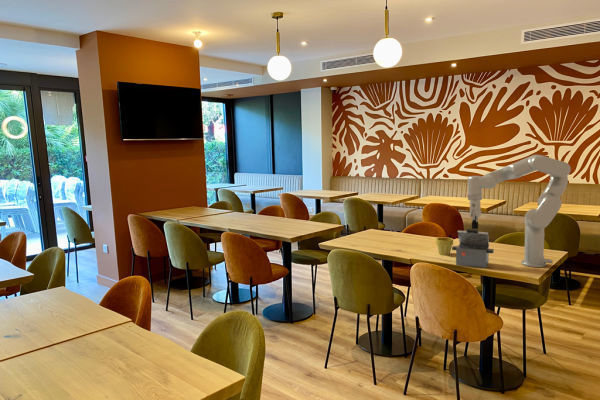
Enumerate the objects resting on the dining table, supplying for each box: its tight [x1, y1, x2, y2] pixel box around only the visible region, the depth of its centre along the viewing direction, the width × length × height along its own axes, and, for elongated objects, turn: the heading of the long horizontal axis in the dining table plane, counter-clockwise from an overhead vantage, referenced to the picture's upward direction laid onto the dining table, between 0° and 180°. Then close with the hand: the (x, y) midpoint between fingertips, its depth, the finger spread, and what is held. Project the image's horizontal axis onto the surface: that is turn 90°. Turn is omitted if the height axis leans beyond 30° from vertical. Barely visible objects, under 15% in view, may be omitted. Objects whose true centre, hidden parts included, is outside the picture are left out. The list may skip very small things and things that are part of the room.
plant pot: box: [435, 236, 454, 256], centre depth 275 cm, size 10×10×10 cm
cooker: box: [451, 243, 494, 269], centre depth 250 cm, size 22×12×10 cm, turn 61°
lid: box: [457, 228, 490, 247], centre depth 251 cm, size 16×14×3 cm
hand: (475, 228), depth 252 cm, fingers closed
